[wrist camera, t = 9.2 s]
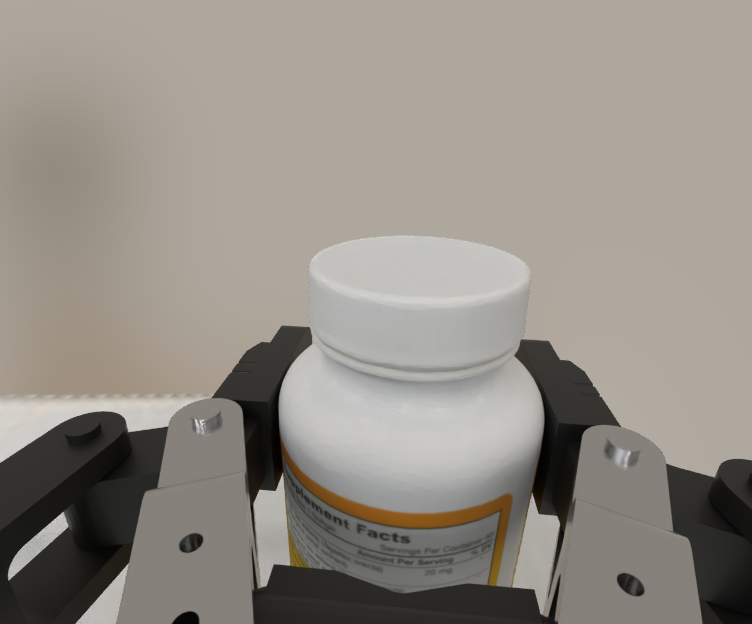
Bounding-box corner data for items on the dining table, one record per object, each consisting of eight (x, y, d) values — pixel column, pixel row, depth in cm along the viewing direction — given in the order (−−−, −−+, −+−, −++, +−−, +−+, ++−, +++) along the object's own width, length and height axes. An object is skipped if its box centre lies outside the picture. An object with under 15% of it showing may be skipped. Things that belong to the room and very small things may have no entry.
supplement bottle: (388, 497, 15) (400, 217, 12) (536, 605, 12) (622, 261, 8) (253, 610, 12) (206, 256, 8) (411, 810, 8) (461, 364, 5)
